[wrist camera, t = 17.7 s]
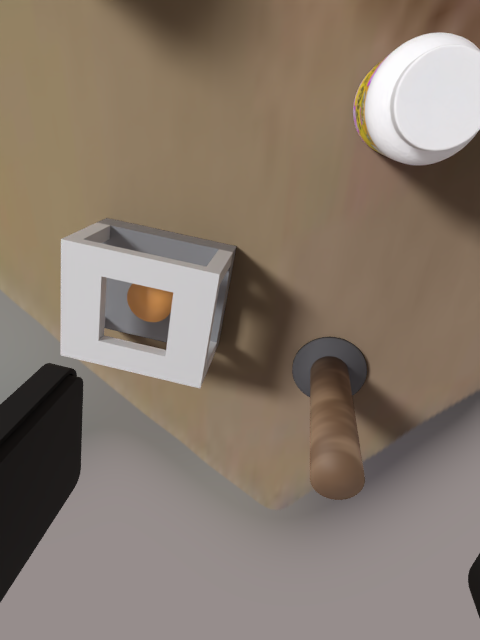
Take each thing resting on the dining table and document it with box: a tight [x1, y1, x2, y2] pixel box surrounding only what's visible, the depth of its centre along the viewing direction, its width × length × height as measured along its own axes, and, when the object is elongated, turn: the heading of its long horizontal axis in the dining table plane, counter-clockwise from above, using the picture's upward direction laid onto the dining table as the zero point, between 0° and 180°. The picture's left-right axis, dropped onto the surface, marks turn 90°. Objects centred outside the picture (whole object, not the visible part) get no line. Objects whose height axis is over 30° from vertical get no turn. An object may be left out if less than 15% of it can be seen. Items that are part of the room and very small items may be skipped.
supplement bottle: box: [353, 33, 480, 165], centre depth 27 cm, size 7×7×13 cm
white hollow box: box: [61, 218, 236, 388], centre depth 38 cm, size 12×10×8 cm
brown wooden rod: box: [310, 356, 365, 500], centre depth 36 cm, size 4×4×14 cm
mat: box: [292, 337, 367, 397], centre depth 42 cm, size 7×7×1 cm
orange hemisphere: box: [127, 284, 173, 322], centre depth 38 cm, size 4×4×2 cm
